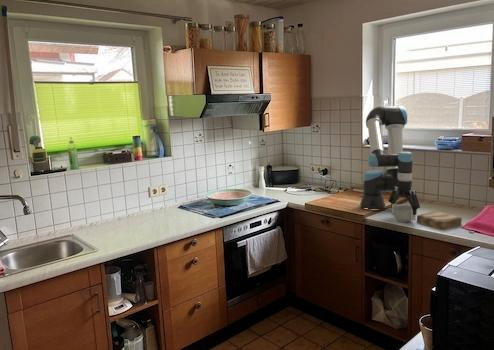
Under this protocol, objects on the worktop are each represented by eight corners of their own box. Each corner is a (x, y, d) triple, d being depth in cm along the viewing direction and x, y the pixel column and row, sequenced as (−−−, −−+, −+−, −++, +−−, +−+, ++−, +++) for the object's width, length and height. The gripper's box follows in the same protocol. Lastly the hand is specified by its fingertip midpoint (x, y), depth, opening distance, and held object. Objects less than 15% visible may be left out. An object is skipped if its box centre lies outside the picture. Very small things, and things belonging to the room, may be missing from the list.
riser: (416, 222, 228) (417, 214, 227) (435, 217, 235) (435, 210, 234) (442, 229, 214) (443, 221, 213) (461, 224, 221) (461, 217, 220)
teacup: (415, 224, 225) (415, 209, 223) (394, 223, 227) (394, 209, 225) (410, 216, 238) (411, 203, 237) (390, 216, 240) (391, 202, 239)
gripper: (382, 177, 237) (381, 213, 241) (418, 184, 216) (416, 223, 219) (391, 176, 240) (390, 211, 244) (428, 182, 219) (426, 221, 223)
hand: (403, 217), depth 232 cm, fingers closed on teacup, 12 cm apart
